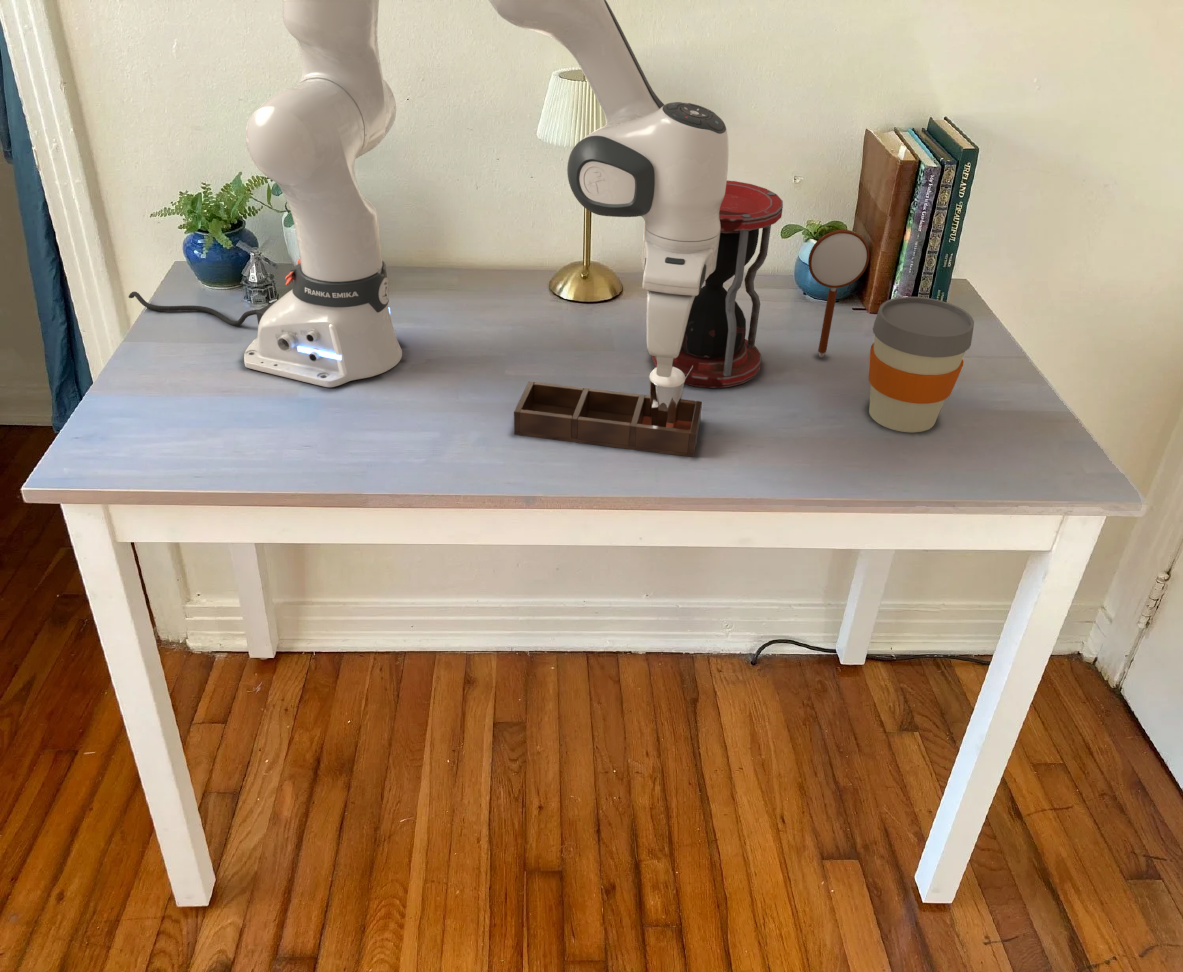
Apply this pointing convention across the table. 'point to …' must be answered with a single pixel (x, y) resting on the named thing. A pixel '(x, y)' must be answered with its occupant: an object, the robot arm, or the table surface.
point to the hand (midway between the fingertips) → (668, 356)
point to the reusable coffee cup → (915, 360)
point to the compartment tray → (603, 419)
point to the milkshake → (666, 397)
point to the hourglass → (729, 294)
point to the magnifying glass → (836, 269)
